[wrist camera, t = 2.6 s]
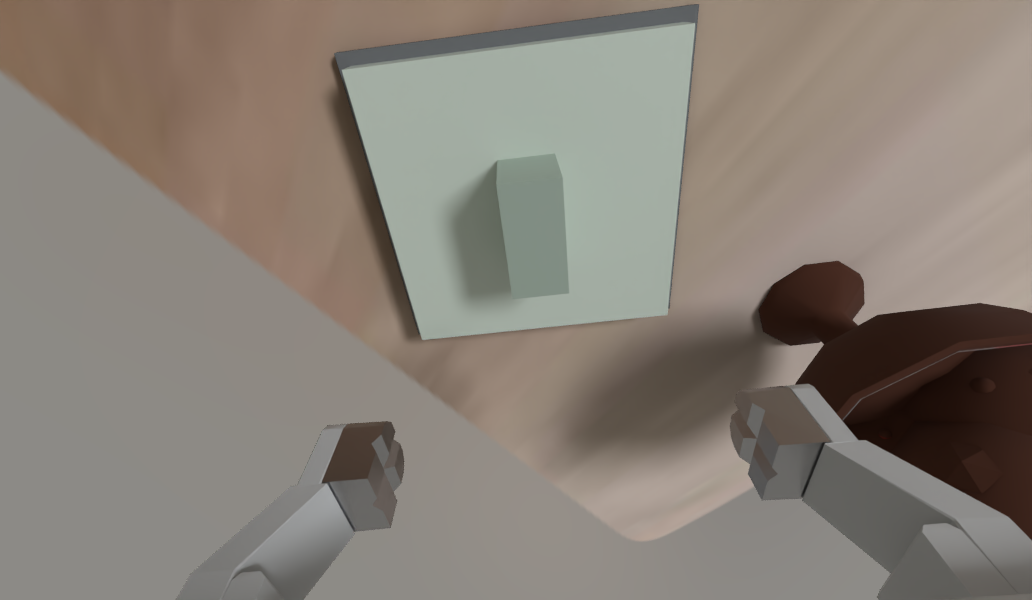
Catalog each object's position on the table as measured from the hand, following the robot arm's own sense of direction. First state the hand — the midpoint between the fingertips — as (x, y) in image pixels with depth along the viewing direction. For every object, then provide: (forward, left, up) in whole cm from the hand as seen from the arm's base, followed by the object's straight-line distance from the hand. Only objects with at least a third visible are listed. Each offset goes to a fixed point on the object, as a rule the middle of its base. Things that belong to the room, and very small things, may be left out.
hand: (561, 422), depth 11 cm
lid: (-1, 0, -13) cm, 13 cm away
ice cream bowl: (+7, +15, -13) cm, 21 cm away
